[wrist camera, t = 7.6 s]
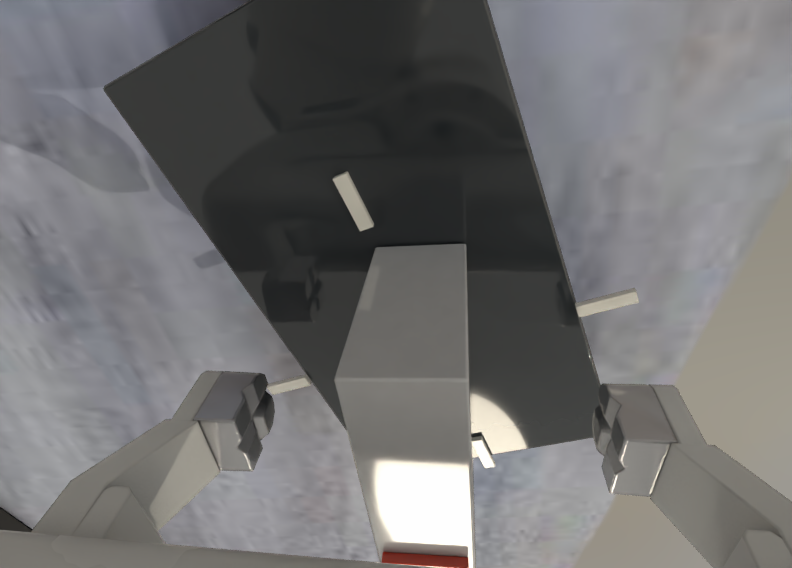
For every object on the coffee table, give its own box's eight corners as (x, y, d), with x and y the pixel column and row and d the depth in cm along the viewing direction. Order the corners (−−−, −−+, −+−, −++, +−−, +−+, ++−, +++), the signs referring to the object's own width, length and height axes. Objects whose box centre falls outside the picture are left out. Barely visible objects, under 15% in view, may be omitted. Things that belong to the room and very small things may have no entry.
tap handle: (374, 246, 11) (329, 390, 7) (466, 242, 11) (469, 391, 7) (402, 425, 15) (381, 588, 11) (472, 427, 14) (476, 595, 11)
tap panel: (134, 86, 13) (52, 114, 10) (516, -132, 10) (537, -172, 7) (362, 421, 20) (347, 490, 17) (634, 363, 16) (667, 438, 14)
